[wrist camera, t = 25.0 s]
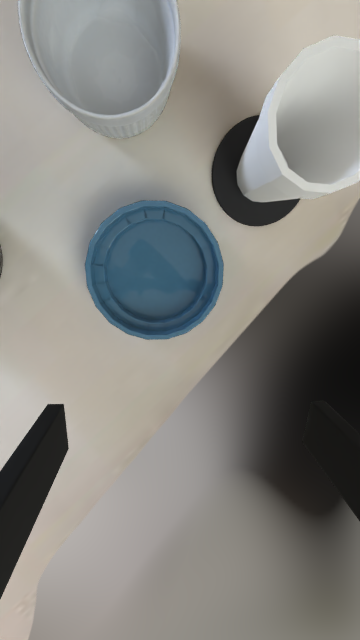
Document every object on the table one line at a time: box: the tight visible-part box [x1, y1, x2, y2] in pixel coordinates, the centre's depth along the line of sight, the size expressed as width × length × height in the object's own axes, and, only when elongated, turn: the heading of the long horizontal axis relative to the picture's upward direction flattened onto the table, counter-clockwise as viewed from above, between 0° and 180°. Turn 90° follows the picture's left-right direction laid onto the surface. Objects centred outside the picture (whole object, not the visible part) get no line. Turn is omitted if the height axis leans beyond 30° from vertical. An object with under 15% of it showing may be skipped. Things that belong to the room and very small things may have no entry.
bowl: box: [85, 200, 224, 340], centre depth 31 cm, size 16×16×4 cm
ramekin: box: [18, 0, 181, 138], centre depth 23 cm, size 13×13×7 cm
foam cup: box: [236, 35, 360, 202], centre depth 24 cm, size 10×9×13 cm
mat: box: [212, 115, 300, 226], centre depth 30 cm, size 12×12×1 cm
